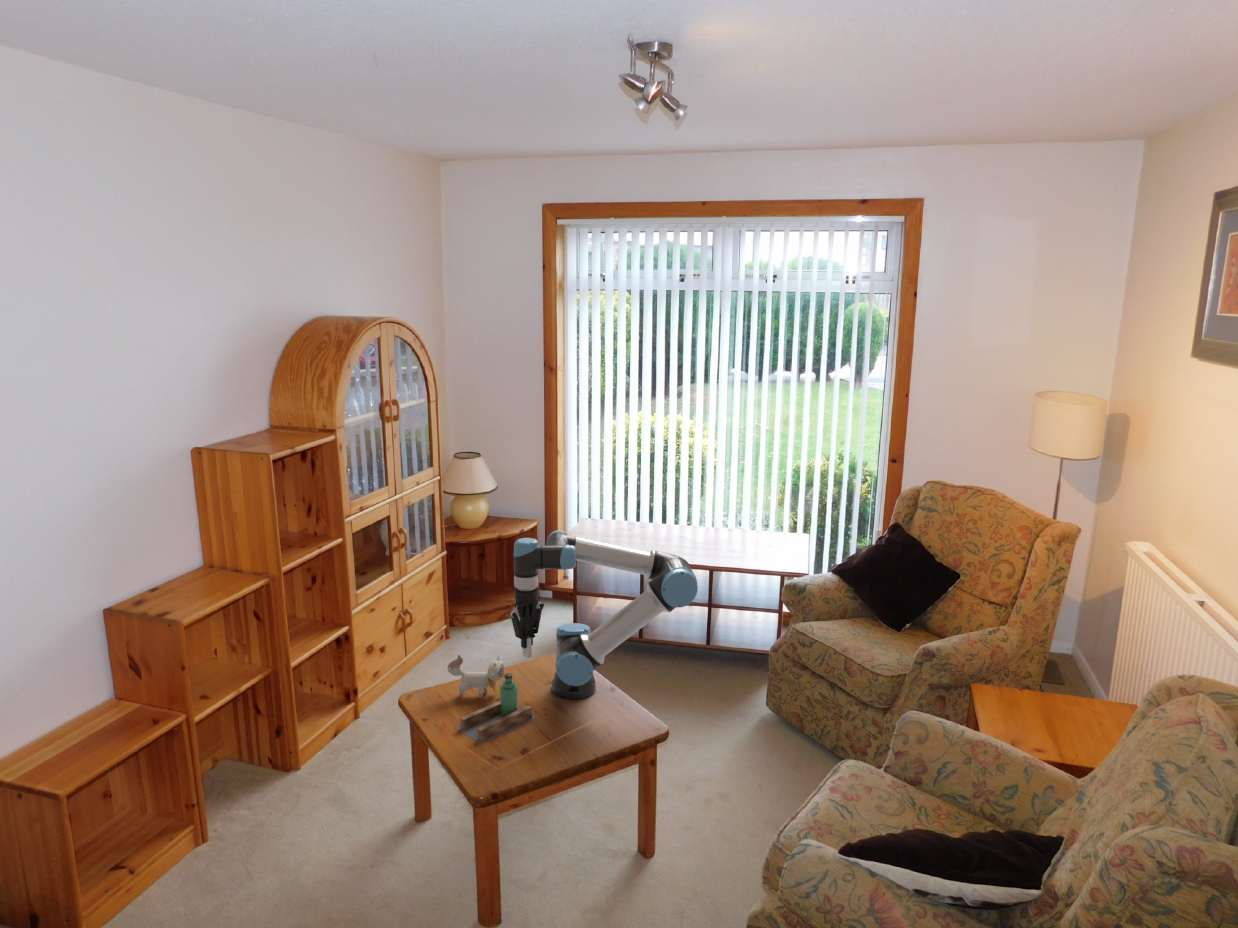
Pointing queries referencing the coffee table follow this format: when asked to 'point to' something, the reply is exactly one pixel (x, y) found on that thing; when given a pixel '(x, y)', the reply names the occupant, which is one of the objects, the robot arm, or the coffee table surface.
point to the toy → (477, 676)
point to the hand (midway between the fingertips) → (527, 655)
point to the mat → (473, 730)
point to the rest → (498, 724)
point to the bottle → (508, 696)
